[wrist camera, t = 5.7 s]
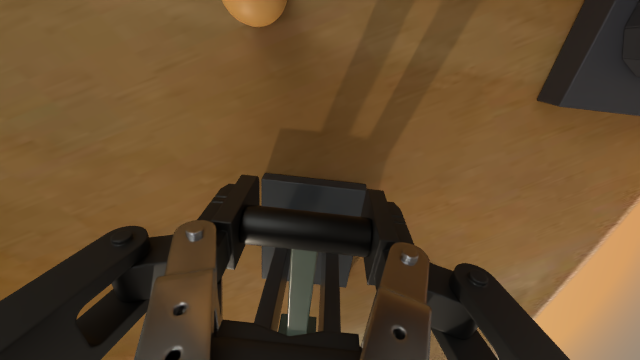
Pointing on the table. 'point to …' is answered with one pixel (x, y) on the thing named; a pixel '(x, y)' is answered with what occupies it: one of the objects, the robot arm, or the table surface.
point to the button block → (599, 60)
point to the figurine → (255, 11)
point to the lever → (304, 250)
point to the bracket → (329, 266)
